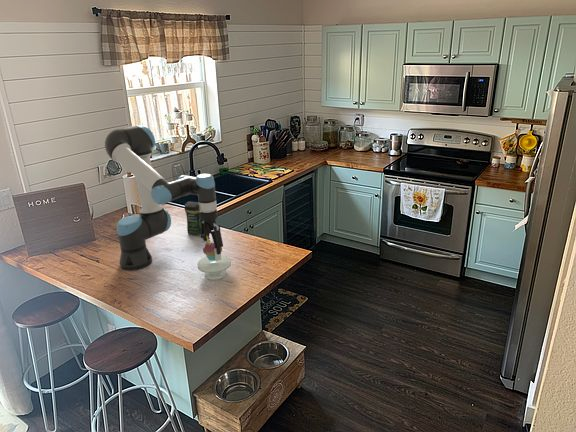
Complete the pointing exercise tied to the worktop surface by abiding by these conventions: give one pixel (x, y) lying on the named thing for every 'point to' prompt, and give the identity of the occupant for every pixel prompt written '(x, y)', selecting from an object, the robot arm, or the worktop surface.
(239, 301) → the worktop surface
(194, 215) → the coffee jar
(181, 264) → the worktop surface
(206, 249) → the cupcake
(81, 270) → the worktop surface
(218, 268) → the cake stand
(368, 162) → the worktop surface
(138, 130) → the robot arm
